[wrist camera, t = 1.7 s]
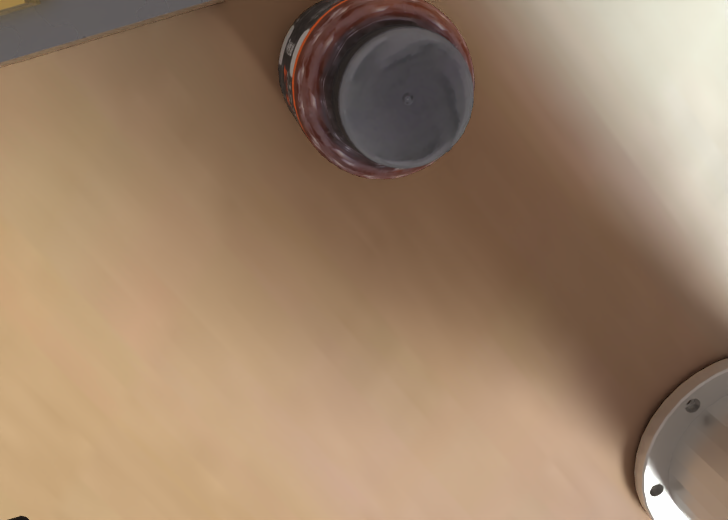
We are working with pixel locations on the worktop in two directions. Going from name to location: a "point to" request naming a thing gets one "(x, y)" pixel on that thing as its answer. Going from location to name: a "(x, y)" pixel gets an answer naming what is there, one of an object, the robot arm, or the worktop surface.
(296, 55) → the supplement bottle
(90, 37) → the grey boxy piece
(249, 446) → the worktop surface
